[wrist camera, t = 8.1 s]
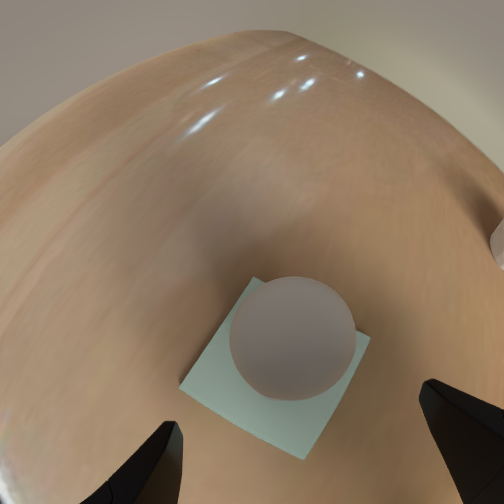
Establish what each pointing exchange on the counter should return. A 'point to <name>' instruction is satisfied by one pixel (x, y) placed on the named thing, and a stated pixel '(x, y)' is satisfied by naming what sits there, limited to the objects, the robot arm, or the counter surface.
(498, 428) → the robot arm
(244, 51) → the counter surface
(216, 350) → the coaster
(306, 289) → the cylinder
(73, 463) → the counter surface
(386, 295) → the counter surface
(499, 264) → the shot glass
